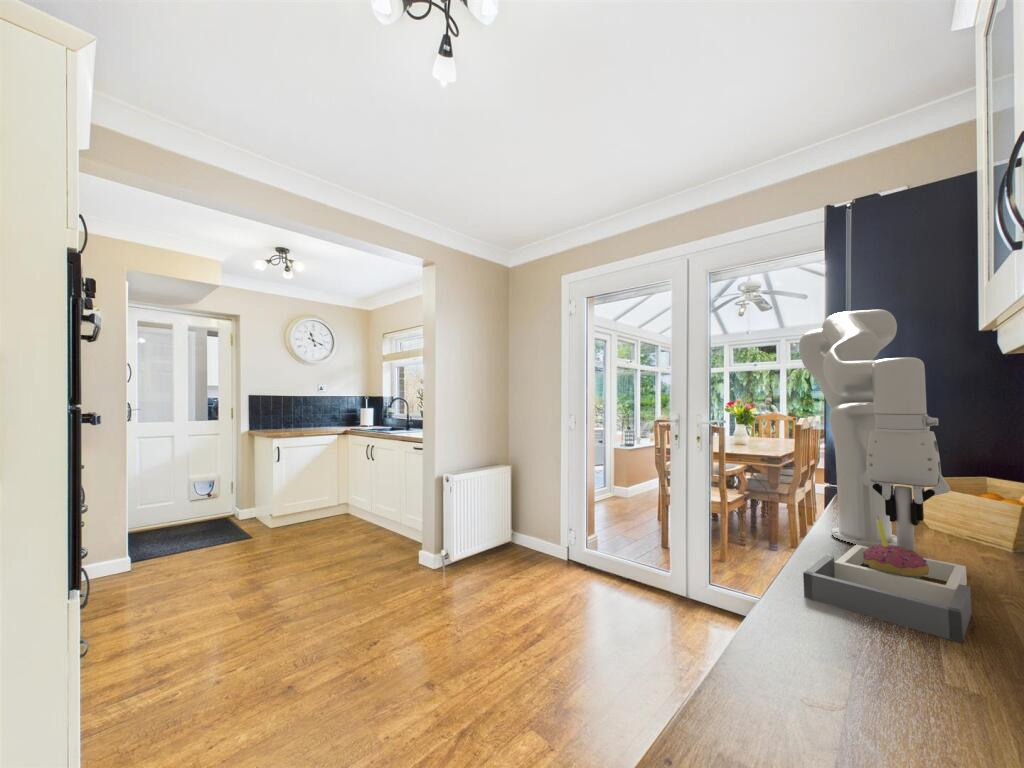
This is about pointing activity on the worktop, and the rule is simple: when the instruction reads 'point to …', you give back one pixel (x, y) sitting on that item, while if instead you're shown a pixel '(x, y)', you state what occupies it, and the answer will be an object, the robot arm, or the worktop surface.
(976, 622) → the worktop surface
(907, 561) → the pink frosted cake
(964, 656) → the worktop surface
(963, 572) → the collar
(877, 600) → the holder bay
